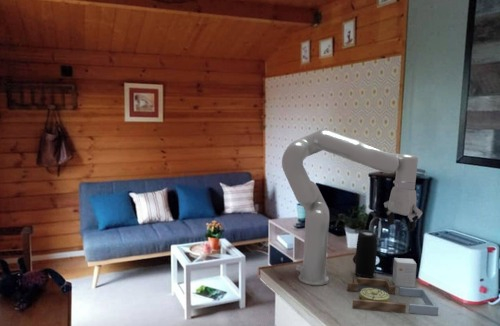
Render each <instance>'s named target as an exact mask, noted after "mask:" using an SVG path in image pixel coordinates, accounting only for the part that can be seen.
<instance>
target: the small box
mask: <svg viewBox="0 0 500 326" xmlns="http://www.w3.org/2000/svg"><path fill="white" fill-rule="evenodd" d="M417 266H418V265H417V263H416V261H415V260H414V259H413V258H402V257H401V258H398V257H394V258H393V268H392V281H391V282H392V283H393V284H394V285H393V286H395V287H398V288H399V287H408V288H416V277H417V276H416V275H417Z"/></svg>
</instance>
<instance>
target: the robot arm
mask: <svg viewBox="0 0 500 326" xmlns="http://www.w3.org/2000/svg"><path fill="white" fill-rule="evenodd" d="M322 151H324V152H328V153H330V154H333V155H335V156H338V157H341V158H344V159H346V160H349V161H352V162H354V163H358V164H361V165H364V166H365V167H368V168H371V169H374V170H377V171H378V172H382V173H385V174H392V173H394V172H395V179H394V180H393V182H392V183H393V185H394V186H392V189H391V191H390V194H389V195H390V196H389V200H387V201H385V202H384V203H383V205H384V210H385V211H386V215H387V226H389V225H394V222H395V214H398V215H401V216H406V217H407V219H409V221H408V223H407V232H414V231H415V228H416V222H417V221H418V220H419V219H420V218H421V216H422V215H423V211H422V210H421V209H419V208H418V206H417V190H415V189H416V180H417V173H418V164H419V163H418V162H419V157H418V156H417V155H416V154H410V153H401V154H400V153H394V152H389V151H385V150H384V151H383V150H381V149H378V148H375V147H372V146H370V145H369V144H366V143H364V142H362V141H361V140H358V139H356V138H352V137H350V136H347V135H344V134H342V133H338V132H336V131H333V130H331V129H330V128H329V129H328V128H321V129H319V130H317V131H316V132H312V133H310V134H308V135H305V136H303V137H300V138H298V139H296V140H294V141H292V142H291V143H290V144H289V145H288V146H287V147H286V149H285V150H284V152H283V154H282V159H281V166H282V167H281V168H282V170H283V173H284V175H285V178H286V180H287V181H288V184H289V187H290V188H291V190H292V192H293V194H294V197H295V199H296V202H297V203H298V204H300V205H301V206H302V207H303V209H304V211H305V218H304V219H305V220H304V221H305V222H304V241H303V259H302V265H301V264H296V266H295V271H297V272H299V274H298V281H300V282H301V283H303V284H306V285H310V286H316V287H317V286H325V285H327V284H328V283H329V281H330V279H329V277H328V275H326V269H327V257H328V256H327V253H328V240H329V227H330V226H329V225H330V209H329V207H328V205H327V202H326V201H325V199H324V197H323V195H322V193H321V191H320V188H319V186H318V185H317V183H315V182H314V181H312V180H311V179H310V177H309V174H308V172H307V170H306V168H305V167H304V160H305V159H306V158H307V157H310V156H312V155H315V154H317V153H320V152H322Z"/></svg>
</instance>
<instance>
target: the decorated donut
mask: <svg viewBox="0 0 500 326" xmlns="http://www.w3.org/2000/svg"><path fill="white" fill-rule="evenodd" d="M359 295H360V299H361V300H371V301H382V302H390V294H388V293H386V292H385V291H382V290H380V289H376V288H364V289H362V290H361V291H359Z"/></svg>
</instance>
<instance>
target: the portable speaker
mask: <svg viewBox="0 0 500 326" xmlns="http://www.w3.org/2000/svg"><path fill="white" fill-rule="evenodd" d="M377 249H378V233H376V232H374V231H372V230H369V229H363V230H360V231H358V235H357V241H356V248H355V265H354V266H355V274H356V275H357V276H358V278H374V275H375V272H376V264H377V253H378V252H377Z"/></svg>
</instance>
